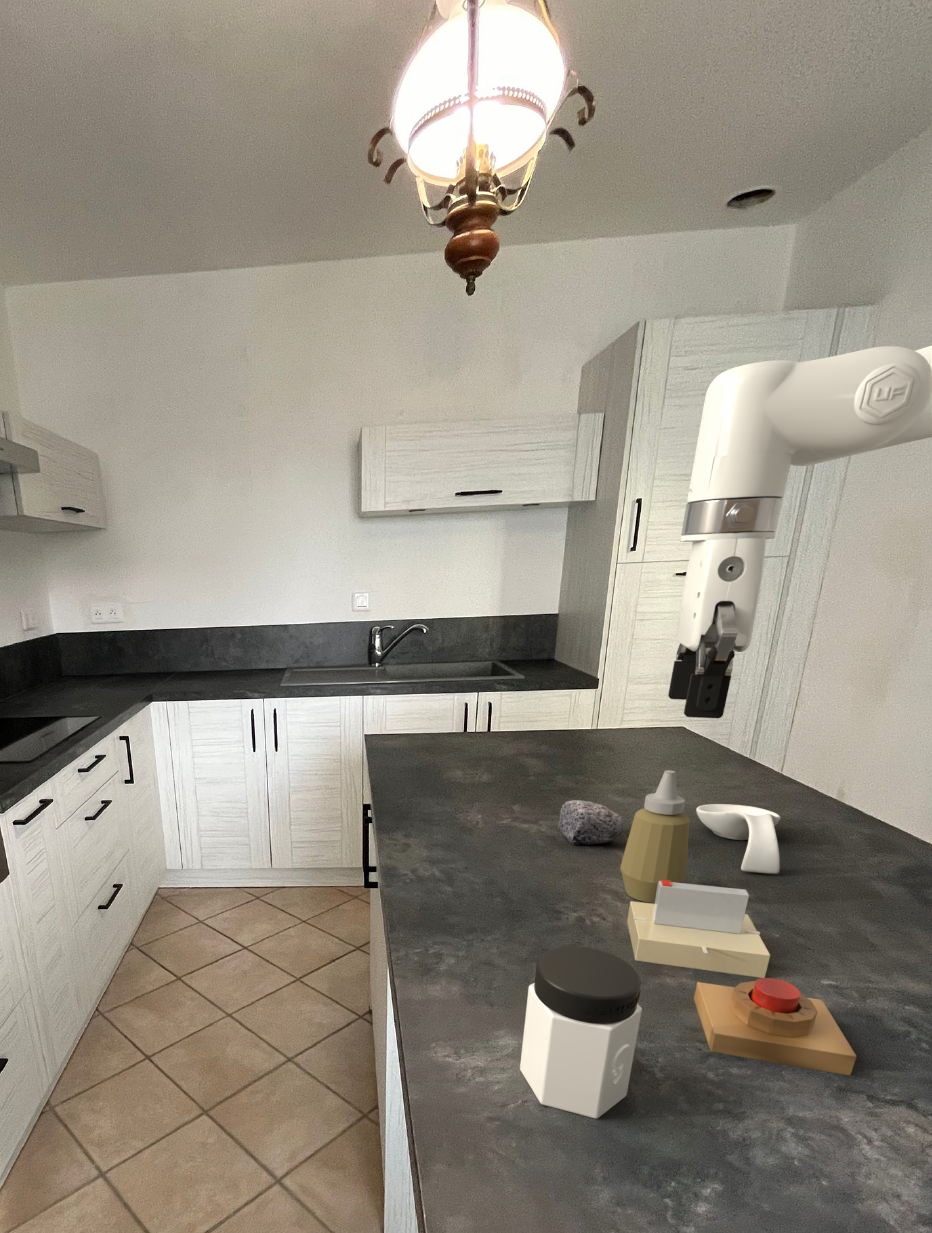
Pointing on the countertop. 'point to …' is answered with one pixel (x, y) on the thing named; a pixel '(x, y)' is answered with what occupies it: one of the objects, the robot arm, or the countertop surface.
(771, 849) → the spoon rest
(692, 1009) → the countertop surface
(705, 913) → the red-tipped gray slab
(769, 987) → the button
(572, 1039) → the jar
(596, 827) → the pumice stone
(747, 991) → the button block
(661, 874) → the squeeze bottle
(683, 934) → the base
